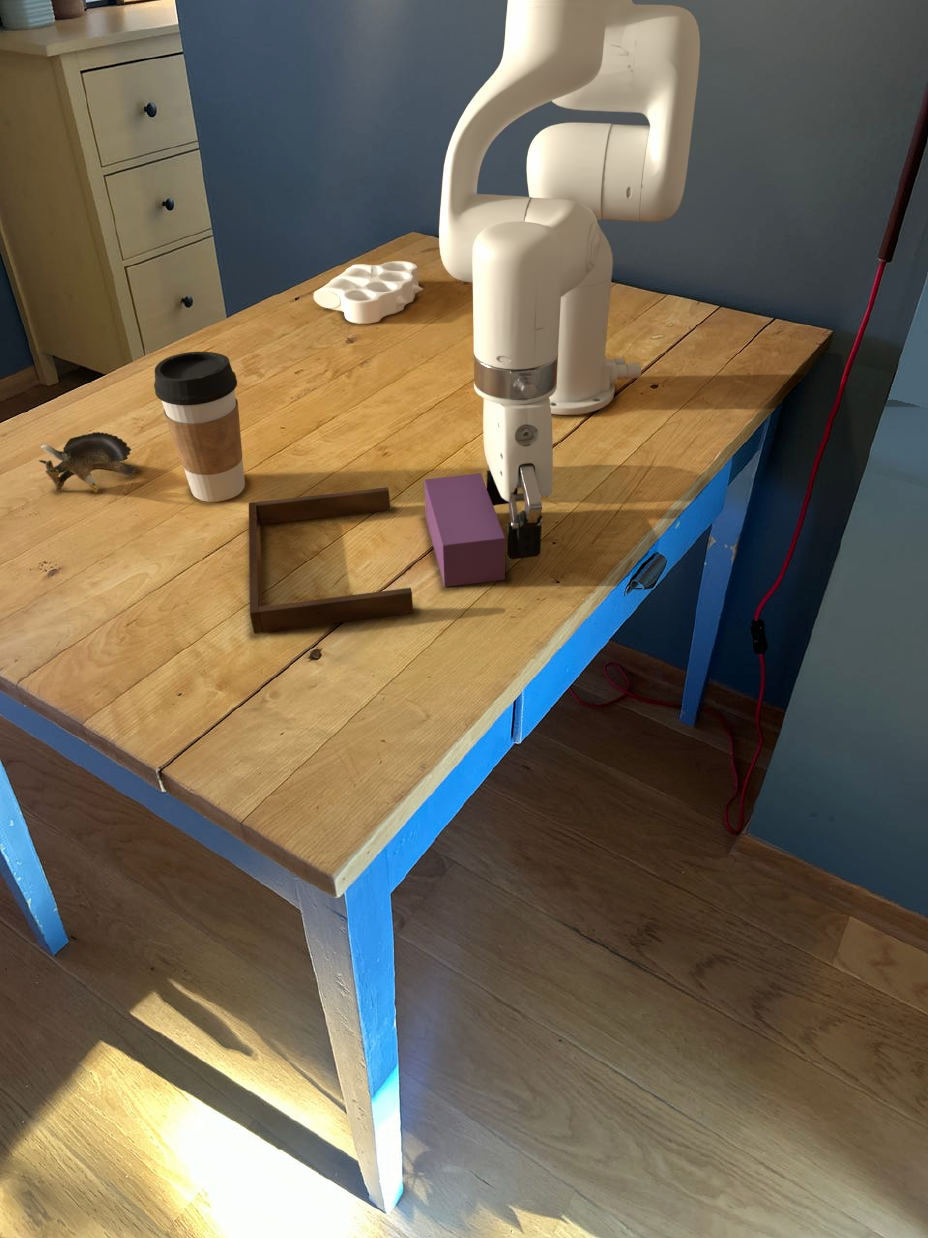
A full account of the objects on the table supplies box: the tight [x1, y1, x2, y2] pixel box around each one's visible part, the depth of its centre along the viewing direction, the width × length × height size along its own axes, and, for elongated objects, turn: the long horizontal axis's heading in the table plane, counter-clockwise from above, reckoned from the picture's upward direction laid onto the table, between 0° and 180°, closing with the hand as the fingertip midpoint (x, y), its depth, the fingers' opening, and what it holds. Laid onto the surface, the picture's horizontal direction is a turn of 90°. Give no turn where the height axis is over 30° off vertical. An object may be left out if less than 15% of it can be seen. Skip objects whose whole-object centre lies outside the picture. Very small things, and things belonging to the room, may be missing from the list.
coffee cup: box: [153, 351, 246, 503], centre depth 100 cm, size 8×8×15 cm
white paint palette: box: [313, 260, 424, 325], centre depth 146 cm, size 3×18×15 cm
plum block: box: [423, 472, 506, 588], centre depth 94 cm, size 6×12×5 cm, turn 10°
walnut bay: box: [248, 486, 414, 634], centre depth 93 cm, size 15×19×2 cm
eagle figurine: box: [38, 431, 137, 493], centre depth 105 cm, size 8×7×9 cm
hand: (512, 528), depth 95 cm, fingers open, 9 cm apart
